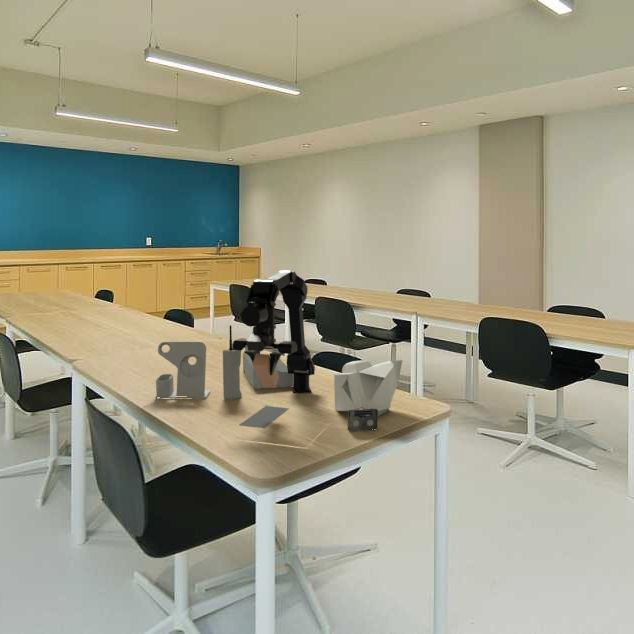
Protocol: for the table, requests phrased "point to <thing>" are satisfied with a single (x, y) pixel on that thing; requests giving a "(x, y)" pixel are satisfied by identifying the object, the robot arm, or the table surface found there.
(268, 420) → the charcoal mat
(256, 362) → the terracotta block
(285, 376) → the warehouse
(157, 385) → the phone holder
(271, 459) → the table surface
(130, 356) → the table surface
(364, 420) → the mini dv tape
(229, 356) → the vintage mobile phone
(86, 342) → the table surface
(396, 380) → the folded paper
